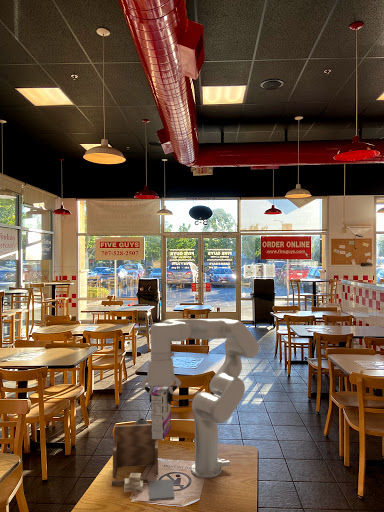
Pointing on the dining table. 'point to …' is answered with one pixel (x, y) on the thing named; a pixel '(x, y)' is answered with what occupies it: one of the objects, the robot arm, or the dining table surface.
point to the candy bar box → (160, 413)
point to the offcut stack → (133, 482)
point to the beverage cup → (140, 420)
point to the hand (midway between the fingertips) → (161, 403)
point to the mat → (161, 489)
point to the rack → (134, 449)
